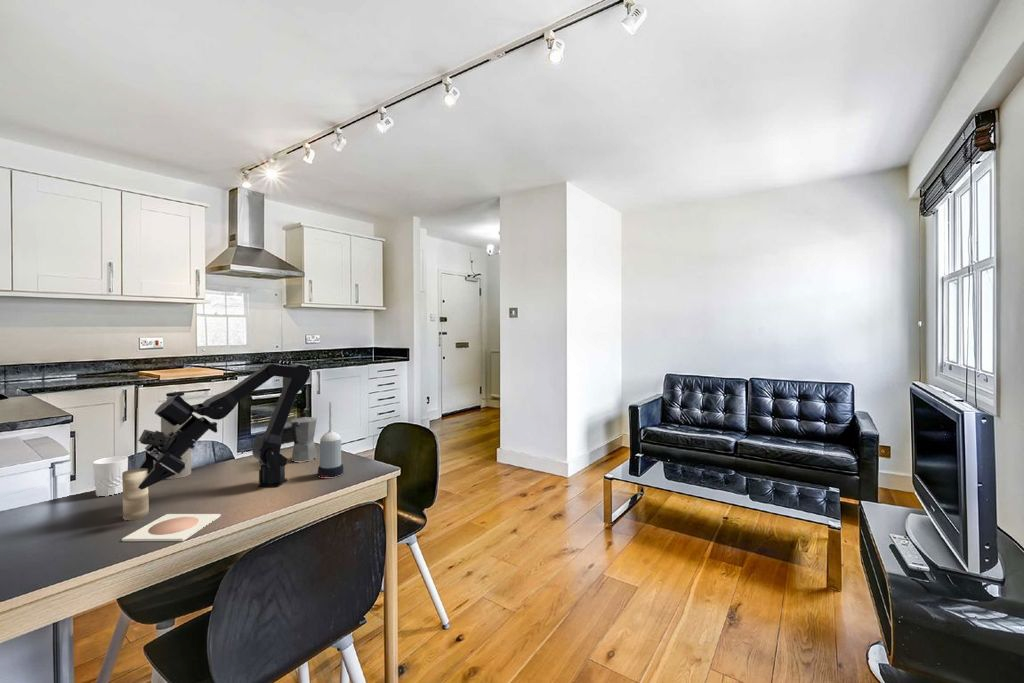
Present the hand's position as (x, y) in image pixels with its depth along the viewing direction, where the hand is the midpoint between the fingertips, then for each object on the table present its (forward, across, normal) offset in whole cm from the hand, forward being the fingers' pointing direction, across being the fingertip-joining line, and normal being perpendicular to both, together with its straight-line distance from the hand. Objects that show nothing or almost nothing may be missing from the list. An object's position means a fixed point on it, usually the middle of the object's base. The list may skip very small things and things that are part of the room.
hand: (136, 484), depth 118 cm
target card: (+2, +16, +10) cm, 19 cm away
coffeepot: (-30, -20, +42) cm, 56 cm away
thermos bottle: (-5, -32, +17) cm, 37 cm away
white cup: (+8, -27, +5) cm, 28 cm away
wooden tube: (+6, 0, +6) cm, 8 cm away
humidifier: (-30, +5, +42) cm, 52 cm away
